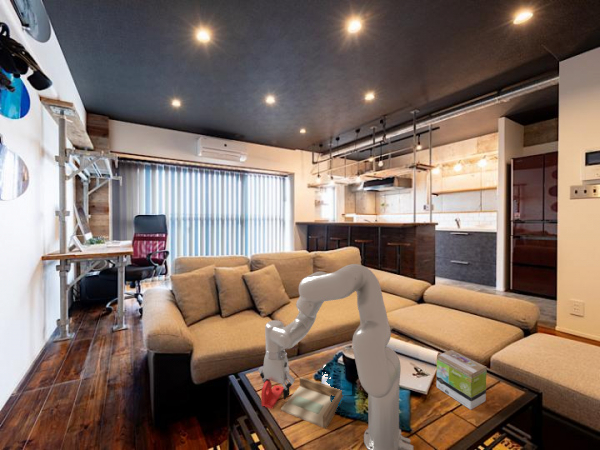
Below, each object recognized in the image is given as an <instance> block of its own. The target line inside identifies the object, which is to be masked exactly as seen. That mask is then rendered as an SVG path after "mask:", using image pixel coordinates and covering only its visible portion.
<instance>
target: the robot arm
mask: <svg viewBox="0 0 600 450" xmlns="http://www.w3.org/2000/svg"><path fill="white" fill-rule="evenodd" d="M355 292H356V303H357V309H358V310H357V311H358V315H359V319H360V320H359V321H360V323H359V326H357V328H356V329H355V331H354V333H353V335H352V345H351V346H352V351H353V357H354V361H355V365H356V370H357V375H358V379H359V382H360V385H361V386H362V388H363V390H364V391H365V392H366V393H367V394H368V395H367V396H368V397H367V398H368V399H367V401H368V404H367V405H368V408H367V409H368V410H367V411H368V427H367V429H366V430H365V431H364V434H363V443H364V446H365V447H366V449H367V450H414V445H412V444H411V438H408V437H405V436H404V435H402V429H401V428H400V384H401V383H400V382H401V360H400V357H399V355H398V353H396V351H395V350H393V349H392V348H391V347H390V346H389V347H388V344H389V342H390V340H391V337H392V336H391V335H392V333H391V328H390V322H389V318H388V314H387V309H386V306H385V305H386V304H385V302H384V297H383V293H382V288H381V284H380V282H379V279H378V278H377V276H376V275H375V274H374V272H373V271H372V270H371V269H369V268H368V267H366V266H364V265H363V264H362V265H361V264H357V263H351V264H347V265H344V266H343V267H341V268H339V269H338V270H336V271H333V272H329V273H327V272H325V271H315V272H313V273H312V274H309V275H306V276H305V277H304V278H302V279H301V281H300V282H299V285H298V294H299V296H298V298H297V300H296V303H295V305H296V309H297V310H298V314H297V316H296V317H295V318H294V320H293V321H292V322H290V323H289V324H287V325H286V326H285V325H284V323H283V321H280V320H278V319H277V320H275V319H274V320H270V321H268V322H266V324H265V326H264V328H265V331H264V333H265V334H264V336H265V355H264V359H263V366H260V367H259V368H257V369H258V372H259V374H260V378H261V382H263V384H264V383H265V382H266V381H270V382H274V383H277V384H281V385H282V387H283V388H284V389H283V393H282V396H283V397H282V398H283V400H286V399H287V398H289V396H290V388H291V386H293V385H294V383H295V381H296V379H295V377H293V376H292V375H291V373H290V365H289V360H288V356H287V355H288V353H287V352H286V350H290V349H292V348H293V347H295V346H296V345H297V344H298V343H299V342H300V341H302V340H303V339H304V338H305V337H306V336H307V335H308V333H309V332H310V330H311V329H312V327H313V325H314V324H315V321H316V319H317V314H318V313H319V311H320V309H321V307H322V306H323V304H324V302H330V301H336V300H343V299H346V298H348V297H350V296H351V295H353V293H355Z"/></svg>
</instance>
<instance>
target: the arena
mask: <svg viewBox="0 0 600 450" xmlns="http://www.w3.org/2000/svg"><path fill="white" fill-rule="evenodd" d="M331 395H332V396H335V397H334V399H333V400H332V402H331V401H330V396H331ZM341 398H342V399H343V395H342V390H340V389H337V388H334V387H331V386H328V385H325V384H322V382H319V381H315V380H313V379H309V378H306V377H304V376H300V377H299V387H298V388H297V389H295V391H294V392H293V393H292V394H291V396H290V397H288V399H287V400H286V401H285V403H284V404H283V405H282V406H281V408H280V411H281V412H285V413H287V414H289V415H291V416H294V417H296V418H299V419H301V420H304V421H306V422H308V423H310V424H313V425H314V426H315V425H316V426H318V427H321V428H322V429H326V430H327V428H328V426H329V425H330V423H331V421H332V419H333V418H334V416H335V414H336V413H335V412H337V411H336V409H337V407H338V404H339V402H340V400H341ZM337 410H338V409H337Z"/></svg>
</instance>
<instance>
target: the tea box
mask: <svg viewBox="0 0 600 450" xmlns="http://www.w3.org/2000/svg"><path fill="white" fill-rule="evenodd" d="M487 368H488V367H487V366H485V365H484V364H482V363H480V362H477V361H475V360H474V359H471V358H469V357H468V356H465V355H463V354H461V353H458V352H457V351H455V350H453V349H450V350H448V351H445V352H443V353H440V354H438V355H437V356H436V388H437V389H439V391H442V392H443V393H445V394H446V395H447V396H449V397H451V398H453V400H455V401H456V402H458V403H460V404H461V405H463V406H464V407H465V408H467V409H468V410H470V411H471V410H474V409H475V408H476V407H478V406H480V405H481V404H483V403H485V402H486V397H487V396H486V395H487V374H488V373H487Z"/></svg>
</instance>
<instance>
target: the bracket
mask: <svg viewBox="0 0 600 450" xmlns="http://www.w3.org/2000/svg"><path fill="white" fill-rule="evenodd" d="M283 389H284V387H283V386H281V385H276V384H274V385H272V381H271V380H270V381H266V382H265V383H264V382H263V385H262V388H261V392H260V393H261V394H260V395H261V396H260V397H261V407H263V406H265V407H264V408H267V407H268V408H267V409H271V410H272V409H274V407H275V405H276V404H277V402H278V400H279V399H280V397H281V396H282V395H283Z"/></svg>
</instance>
